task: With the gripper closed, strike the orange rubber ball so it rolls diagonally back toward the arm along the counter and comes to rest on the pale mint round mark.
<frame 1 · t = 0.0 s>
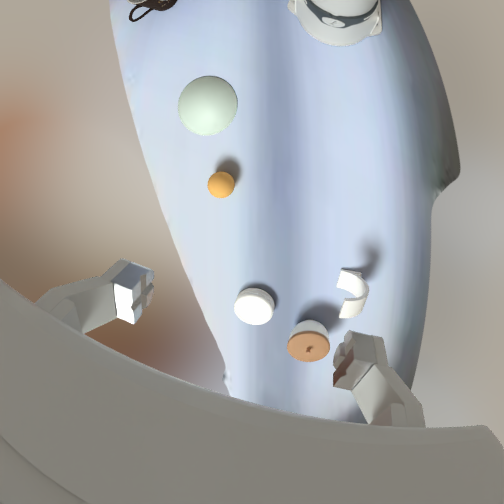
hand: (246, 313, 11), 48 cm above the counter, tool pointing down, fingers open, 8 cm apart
coaster: (255, 302, 72), on the counter
coffee mug: (160, 4, 40), on the counter
lidded jar: (309, 327, 72), on the counter
ball: (221, 184, 56), on the counter
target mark: (206, 105, 51), on the counter
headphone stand: (350, 278, 63), on the counter
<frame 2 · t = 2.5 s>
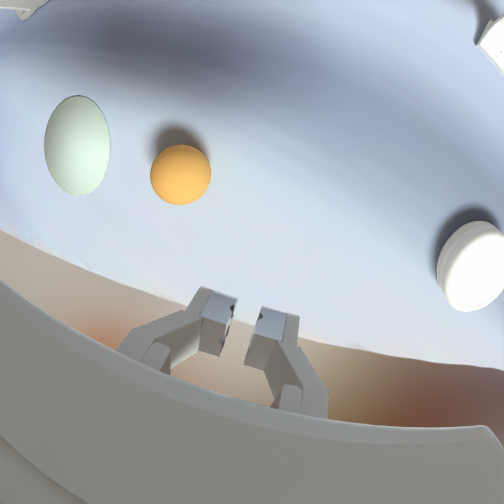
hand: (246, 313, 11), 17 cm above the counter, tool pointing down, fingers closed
coaster: (469, 259, 24), on the counter
ball: (180, 174, 24), on the counter
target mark: (73, 146, 27), on the counter
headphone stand: (497, 46, 12), on the counter
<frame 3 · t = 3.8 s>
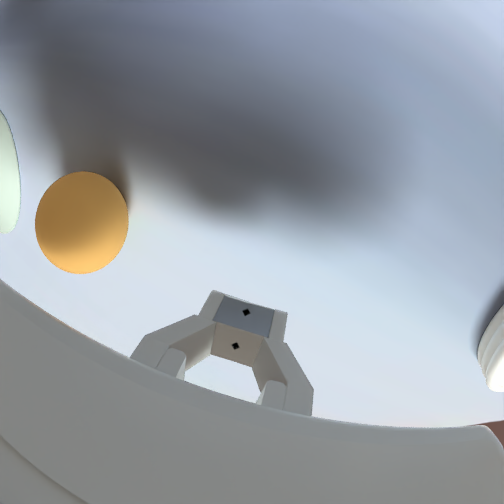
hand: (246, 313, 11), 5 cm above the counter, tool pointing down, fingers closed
ball: (81, 222, 13), on the counter
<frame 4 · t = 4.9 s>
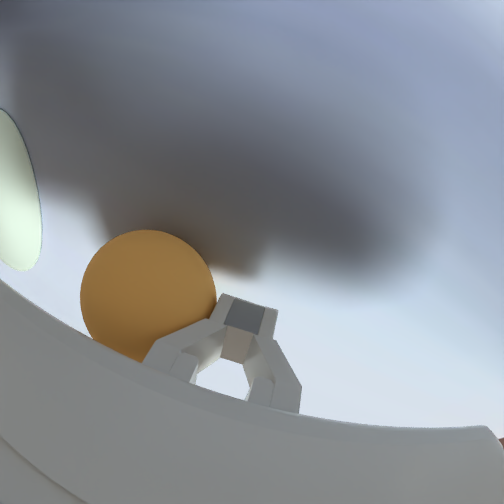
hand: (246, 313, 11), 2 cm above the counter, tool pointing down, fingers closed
ball: (147, 300, 10), on the counter, touching gripper
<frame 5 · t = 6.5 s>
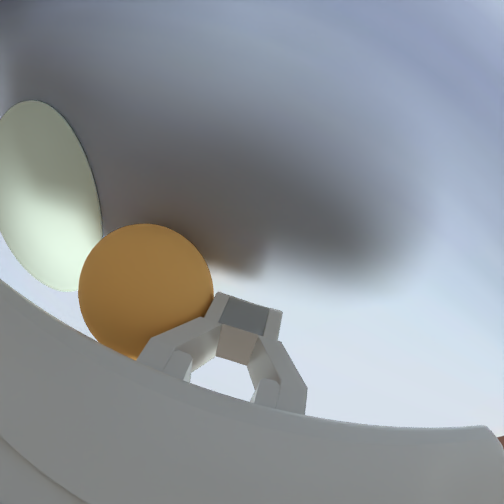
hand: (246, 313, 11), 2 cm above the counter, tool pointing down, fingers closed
ball: (145, 293, 10), on the counter, touching gripper
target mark: (31, 203, 13), on the counter
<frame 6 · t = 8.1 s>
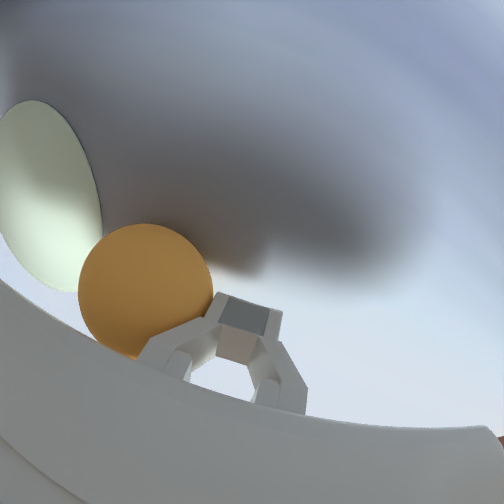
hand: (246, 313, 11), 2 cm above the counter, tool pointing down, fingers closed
ball: (144, 293, 10), on the counter, touching gripper
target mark: (31, 203, 13), on the counter
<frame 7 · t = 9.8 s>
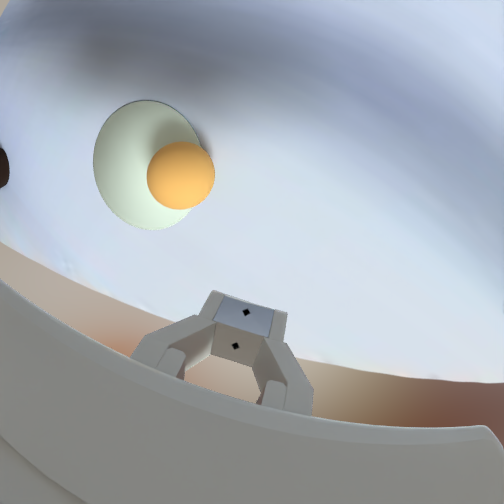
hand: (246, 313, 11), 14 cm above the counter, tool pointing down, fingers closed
coffee mug: (4, 175, 29), on the counter
ball: (180, 175, 21), on the counter
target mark: (142, 167, 24), on the counter
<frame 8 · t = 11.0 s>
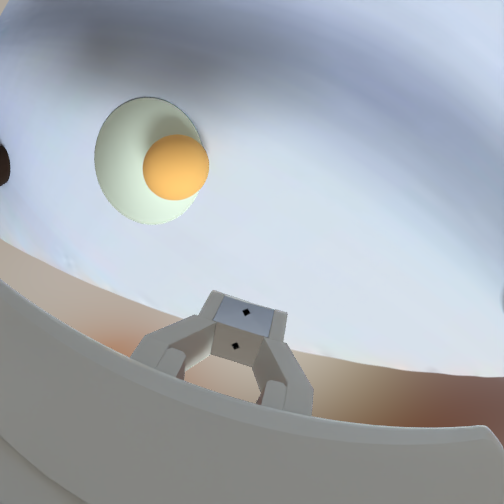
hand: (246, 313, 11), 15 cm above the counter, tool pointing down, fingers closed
coffee mug: (4, 172, 30), on the counter
ball: (175, 167, 21), on the counter
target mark: (143, 162, 25), on the counter
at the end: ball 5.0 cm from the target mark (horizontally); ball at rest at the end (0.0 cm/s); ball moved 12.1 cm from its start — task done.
